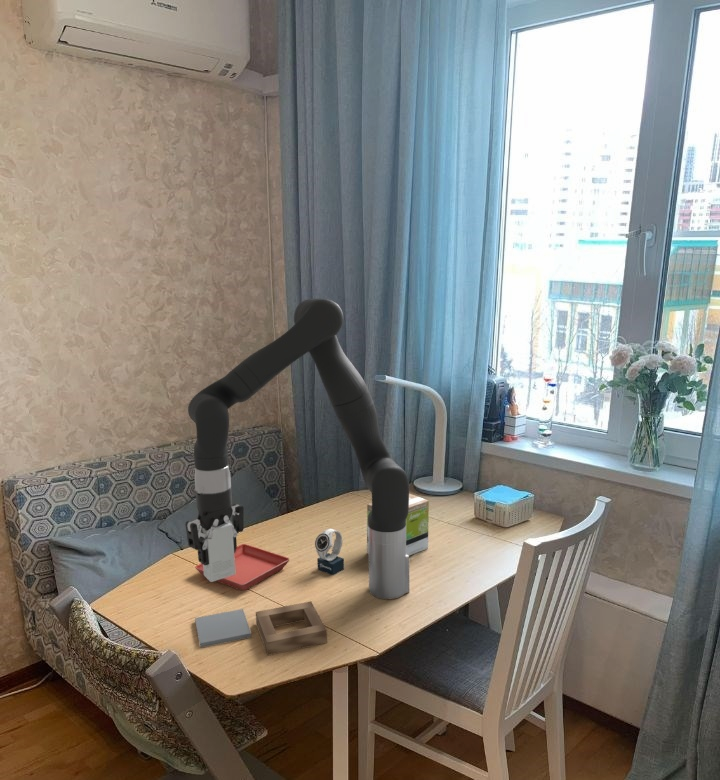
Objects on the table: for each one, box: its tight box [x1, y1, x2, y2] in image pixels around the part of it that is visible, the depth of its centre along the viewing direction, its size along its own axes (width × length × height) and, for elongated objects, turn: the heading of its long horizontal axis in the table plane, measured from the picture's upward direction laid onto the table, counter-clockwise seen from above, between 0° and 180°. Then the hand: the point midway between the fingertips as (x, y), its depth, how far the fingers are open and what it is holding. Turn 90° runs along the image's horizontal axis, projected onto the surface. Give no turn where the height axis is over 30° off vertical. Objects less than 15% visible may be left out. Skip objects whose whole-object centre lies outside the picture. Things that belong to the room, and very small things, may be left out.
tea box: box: [366, 493, 430, 557], centre depth 186 cm, size 15×10×15 cm, turn 131°
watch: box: [314, 528, 345, 576], centre depth 176 cm, size 6×8×11 cm
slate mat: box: [194, 608, 252, 648], centre depth 150 cm, size 11×11×1 cm
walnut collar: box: [255, 601, 328, 656], centre depth 148 cm, size 13×13×3 cm
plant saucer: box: [194, 543, 291, 591], centre depth 177 cm, size 18×18×3 cm
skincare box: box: [202, 522, 236, 583], centre depth 146 cm, size 6×4×12 cm
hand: (218, 557), depth 147 cm, fingers closed on skincare box, 6 cm apart
